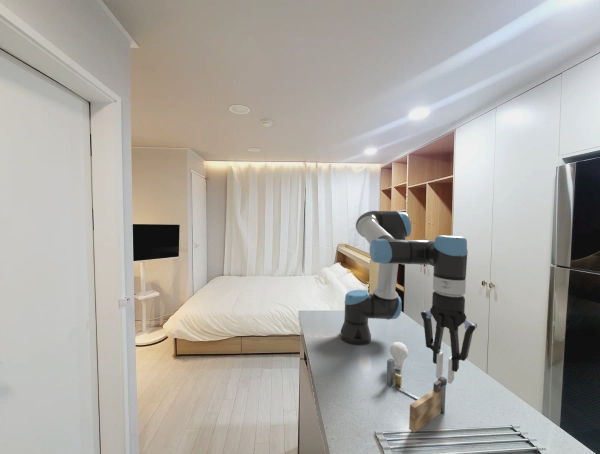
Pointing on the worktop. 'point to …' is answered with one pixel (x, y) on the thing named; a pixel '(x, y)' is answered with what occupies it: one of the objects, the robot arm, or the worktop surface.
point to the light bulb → (398, 354)
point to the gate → (426, 407)
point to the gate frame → (399, 379)
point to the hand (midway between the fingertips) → (444, 378)
